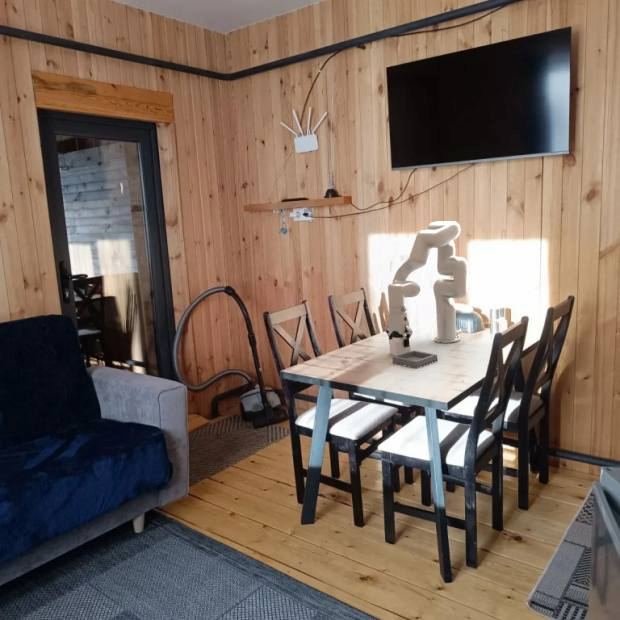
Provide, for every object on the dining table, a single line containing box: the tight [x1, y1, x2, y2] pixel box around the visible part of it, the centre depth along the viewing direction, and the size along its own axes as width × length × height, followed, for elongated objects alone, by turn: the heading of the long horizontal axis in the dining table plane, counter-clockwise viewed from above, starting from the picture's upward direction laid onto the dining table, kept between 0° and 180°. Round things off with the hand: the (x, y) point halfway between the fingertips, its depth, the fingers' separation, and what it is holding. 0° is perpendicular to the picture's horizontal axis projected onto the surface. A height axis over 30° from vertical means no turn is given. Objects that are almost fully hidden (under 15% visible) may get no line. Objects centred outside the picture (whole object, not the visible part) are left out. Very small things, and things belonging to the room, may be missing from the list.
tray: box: [392, 349, 439, 369], centre depth 262 cm, size 14×14×3 cm
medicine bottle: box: [388, 331, 411, 357], centre depth 276 cm, size 7×7×12 cm
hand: (399, 345), depth 276 cm, fingers closed on medicine bottle, 8 cm apart
